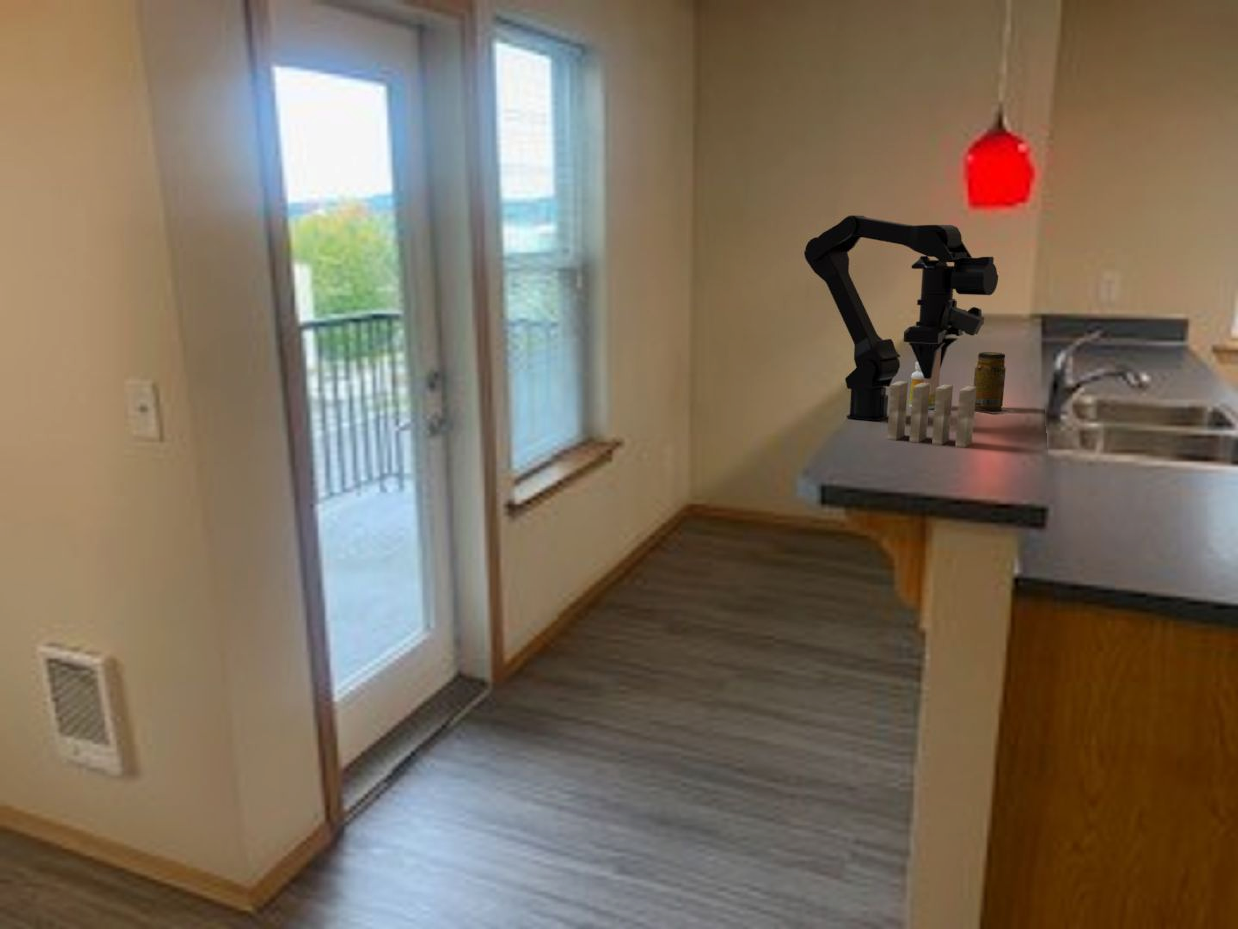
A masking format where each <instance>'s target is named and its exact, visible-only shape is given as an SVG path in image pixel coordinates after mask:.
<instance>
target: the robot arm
mask: <svg viewBox="0 0 1238 929" xmlns="http://www.w3.org/2000/svg"><path fill="white" fill-rule="evenodd" d="M861 238H864V239H869V240H874V241H875V240H876V241H880V242H887V243H891V244H897V245H902V246H905V247H907V248H909V249H910V250H912V251H913V252H916V253H919V254H921V256H920V257H919V258H918V260H917V261H915V262H914V263H913V264H912V265H911V269H914V270H922V271H921V272H922V273H921V287H920V288H921V289H920V298H919V299H917V302H916V303H917V304H916V305H917V306H919V318H918V321H916V322H915V325H911V326H909V327H908V328H907V329H905V330H904V331H903V342H904V343H908V344H909V345H910V347H911V350H912V351H913V354H914V356H915V358H916V362H918V363H919V366H920V368H921V371H922V374H923V376H924V378H925V379H930V378H931V375H932V371H933V366H934V362H935V357H936V353H937V351H938V350H939V349H940V348H941V361H940V369H941V368H942V366H943V363H944V359H945V357H946V353H947V350H948V348H949V347H950V346H951V345H953V344H954V343H955V342H956V341H957V340H958V338H957V337H961V336H963V335H964V334H966V335H969V336H971V337H973V336H975V335H978V334H979V333H980V330H981V328H982V326H983V325H984V324H985V322H984V321H985V317H984V316H982V315H983V314H982V313H983V312H982V309H981V308H979V307H976V306H972V307H971V308H969V309H968V310H966V309H965V308H964V309H962V308H959V307H958V306H957V304H958V301H957V300H956V298H954V291H955V292H956V294H959V295H966V296H967V295H968V296H991V295H992V294H994V292H995V291H996V288H997V286H998V282H999V274H998V270H997V267H996V265H995V264H994V259H995V258H994V256H981V257H972V254H971V253H970V251H969V250H968V249H967V246H966V245H965V244H964V242H963V240H962V239H963V238H962V233H961V231H960V229H959V228H958V227H957V226H955V225H952V224H921V225H918V224H917V225H915V224H914V225H912V224H907V223H900V222H896V221H895V222H894V221H890V220H889V221H887V220H883V219H878V218H870V217H867V216H865V215H853V214H852V215H848V216H846V217H845V218H844V219H841V220H840V221H839V223H837V224H836V225H834V226H832V227H830V228H829V229H827V230H825V231H823V232H822V233H821V234H819V236H818V237H813V238H811V239H810V240H809V241H808V242H807V244H806V246H805V249H804V252H803V253H804V259H805V261H806V263H807V264H808V265H809V267H810V268H811V270H812V271H813V273H815V274H816V275H817V276H818V277H819V278H820V279H822V280H823V281H824V282H825V284H826V286H827V288H828V290H829V292H830V294H831V296H832V299H833V301H834V302H835V305H836V307H837V309H838V311H839V313H840V316H841V318H842V321H843V323H844V325H845V326H846V329H847V331H848V333H849V336H850V337H851V341H852V342H853V344H854V345H853V346H854V348H853V360H854V364H855V369H853V370H852V371H851V372H850V373H849V374H848V375H847V376H845V378H844V379H845V383H846V387H847V388H846V389H849V390H850V403H849V404H850V406H849V414H847V415H846V418H847V419H854V418H855V420H865V421H874V422H875V421H876V422H877V421H880V420H882V419H884V418H886V417H887V416H888V409H889V405H888V404H889V395H888V394H887V387H890V386H891V384H892V381H893V379H894V378H895V377H896V376H897V374H898V373H899V370H900V367H901V363H900V359H899V358H901V354H899V353H898V351H897V350H896V348H895V344H894V341H893V339H891V338H885V339H883V338H881V337H880V336H879V335H878V334H877V331H876V328H875V326H874V325H873V322H872V321H871V317H870V316H869V314H868V312H867V310H866V307H865V304H864V302H863V301H862V299H861V297H860V294H859V292H858V290H857V288H856V286H855V284H854V281H853V280H852V277H851V275H850V272H849V269H850V268H849V266H850V258H849V254H848V253H849V252H850V251H851V250H852V249H854V248H855V246H856V245H858V242H859V241H860V240H861ZM931 257H932V258H933V257H934V258H935V259H930V258H931ZM948 263H953V265H948ZM963 333H964V334H963ZM952 335H955V337H951V336H952Z"/></svg>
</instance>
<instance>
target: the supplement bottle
mask: <svg viewBox="0 0 1238 929" xmlns="http://www.w3.org/2000/svg"><path fill="white" fill-rule="evenodd" d="M914 369H915V371H914V372H912V373H911V377H910V392H909V402H908V403H909V404H908V405H909V408H912V396H913V386H915V385H918V384H920V383H923V379H924V376H923V374H922V371H921V368H920V366H919V363H918V361H916V362H915V366H914ZM935 396H936V393H934V394H932V395H929V409H928V410H932V409H935Z"/></svg>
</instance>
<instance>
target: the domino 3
mask: <svg viewBox="0 0 1238 929" xmlns="http://www.w3.org/2000/svg"><path fill="white" fill-rule="evenodd" d="M940 361H941V348H940V349H939V350H938V351H937V353H936V357H935V362H934V366H933V371H932V375H931V378H930V379H925V378H924V379H923V383H930V395H932V394H934V393H936V388H938V387H940V386H939V385H940V374H941V373H940V372H941V368H940Z"/></svg>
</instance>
